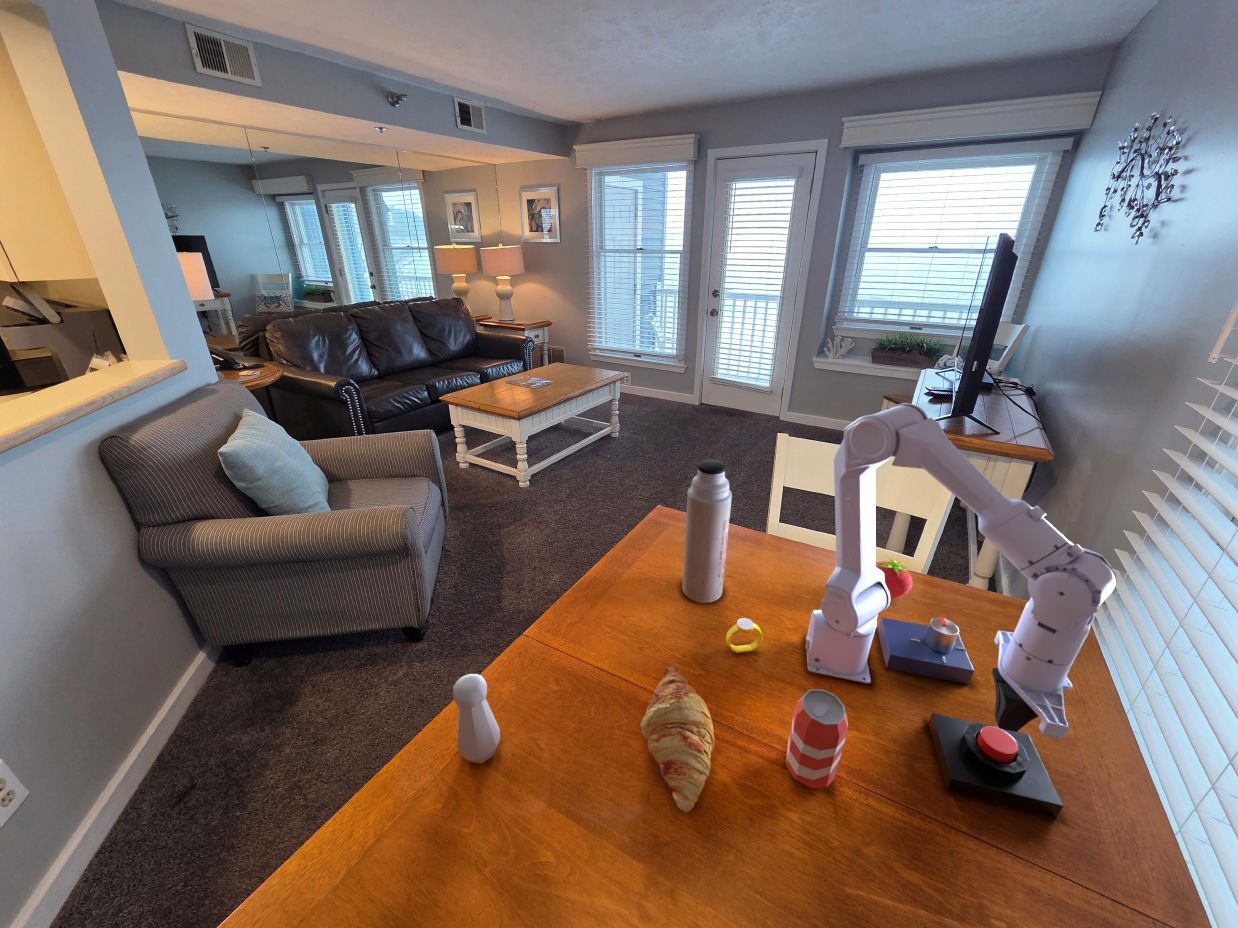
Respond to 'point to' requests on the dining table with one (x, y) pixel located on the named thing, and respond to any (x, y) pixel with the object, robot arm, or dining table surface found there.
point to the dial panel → (921, 652)
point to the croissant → (679, 737)
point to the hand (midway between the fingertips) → (1005, 725)
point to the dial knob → (941, 635)
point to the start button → (997, 744)
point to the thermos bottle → (706, 532)
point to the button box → (992, 767)
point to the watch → (744, 626)
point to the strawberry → (895, 577)
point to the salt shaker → (475, 720)
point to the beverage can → (816, 738)
